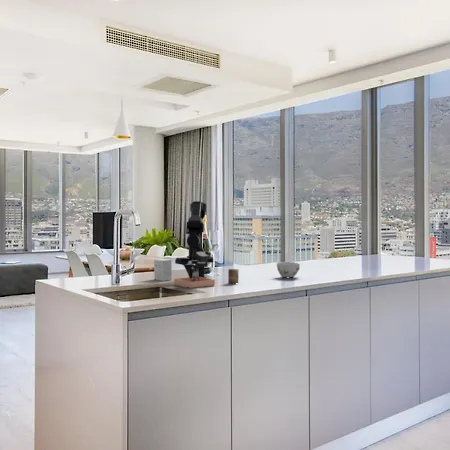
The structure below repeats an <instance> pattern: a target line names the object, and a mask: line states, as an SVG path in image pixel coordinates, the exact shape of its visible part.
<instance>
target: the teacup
mask: <svg viewBox="0 0 450 450" xmlns="http://www.w3.org/2000/svg"><path fill="white" fill-rule="evenodd" d="M300 265H301V264H300V263H297V262H289V261H279V262H277V263H276V268H277V271H278V273H279V275H280V276H281V278H283V277H293V278H294V277H296V276H297V274H298V272H299V270H300Z"/></svg>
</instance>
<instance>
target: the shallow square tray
mask: <svg viewBox="0 0 450 450" xmlns="http://www.w3.org/2000/svg"><path fill="white" fill-rule="evenodd" d="M173 280H174V281H173V285H174V286H177V285H178V287H181V286H183V287H182V288H186V287H189V288H188V289H195V288H194V287H200V288H205V287H204V286H210V287H215V286H214V285H216V282H215V281H216V280H215V279H212V278H208V277H207V278H202V277H199V281H193V282H191V281H190V278H189V276H188V277H181V278H180V277H178V278H174V279H173Z"/></svg>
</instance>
